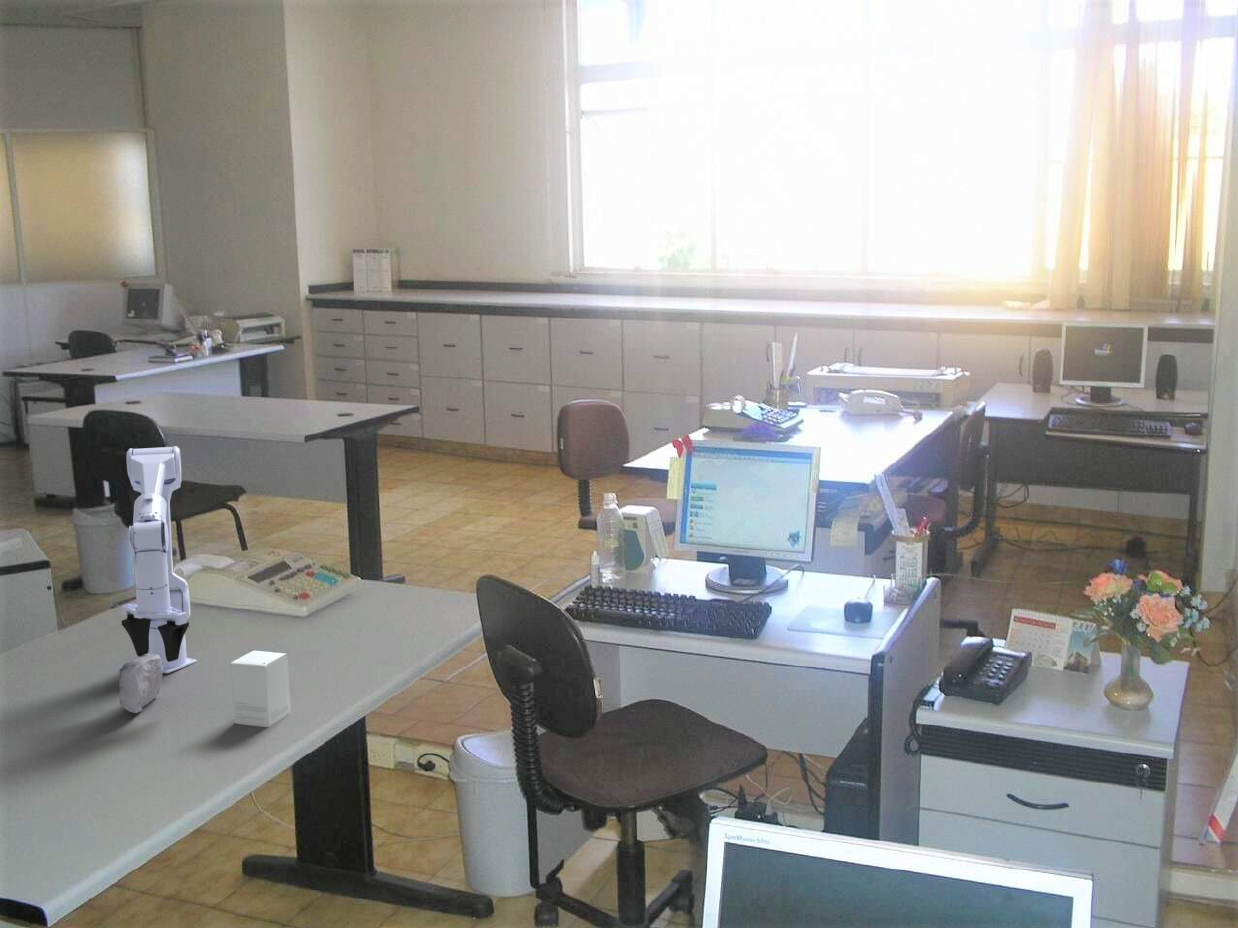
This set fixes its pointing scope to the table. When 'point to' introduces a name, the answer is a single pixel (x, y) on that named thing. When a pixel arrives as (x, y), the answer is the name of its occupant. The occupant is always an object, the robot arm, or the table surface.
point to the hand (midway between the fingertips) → (157, 657)
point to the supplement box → (260, 688)
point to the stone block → (140, 682)
